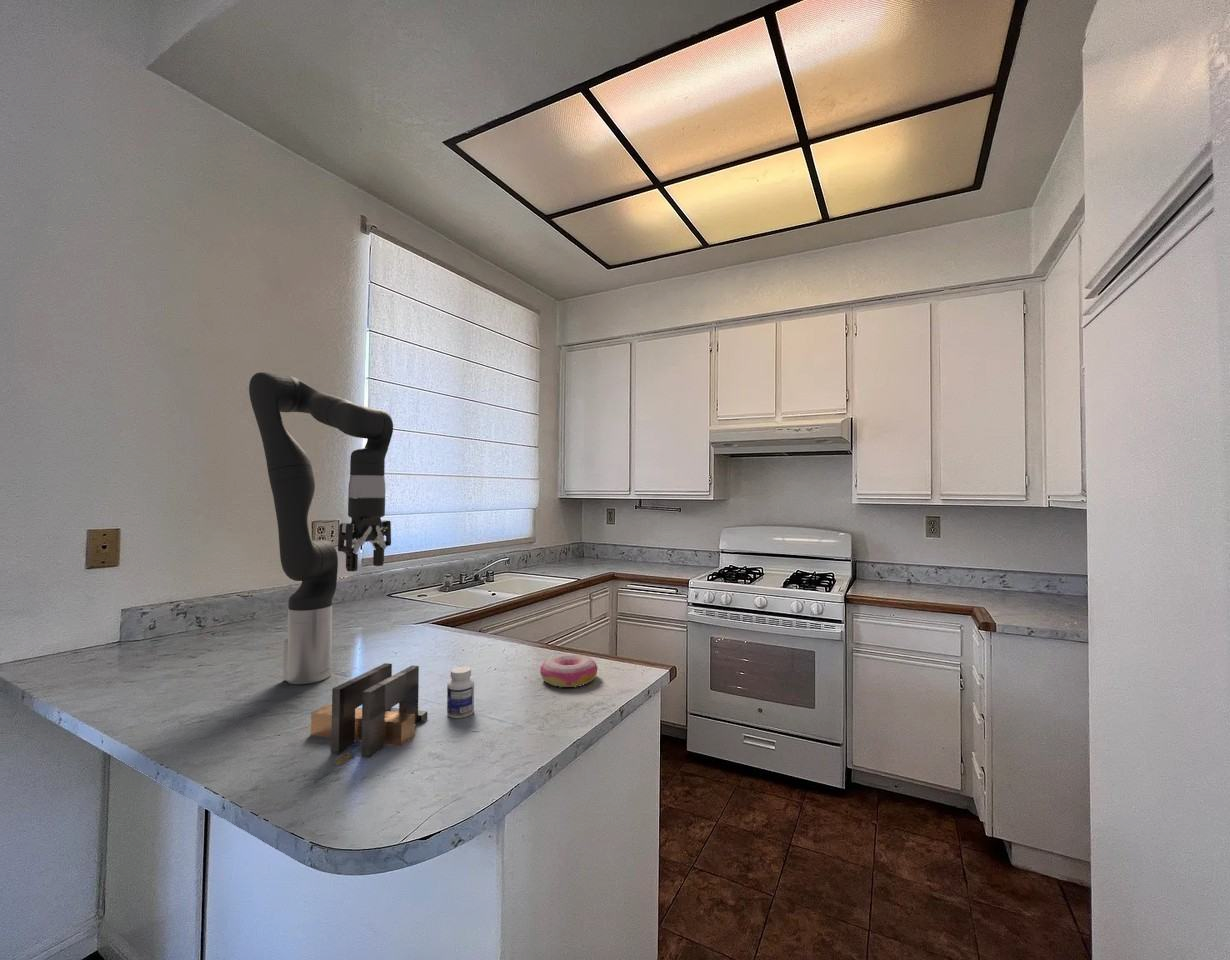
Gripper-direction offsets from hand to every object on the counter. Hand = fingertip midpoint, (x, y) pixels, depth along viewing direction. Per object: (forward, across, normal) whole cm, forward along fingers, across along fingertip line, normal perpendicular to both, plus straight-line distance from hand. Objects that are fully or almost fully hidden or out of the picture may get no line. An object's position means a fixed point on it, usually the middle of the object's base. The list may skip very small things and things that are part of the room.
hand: (365, 568), depth 117 cm
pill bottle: (+28, +4, +26) cm, 39 cm away
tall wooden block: (+28, +17, +14) cm, 35 cm away
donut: (+28, -20, +42) cm, 54 cm away
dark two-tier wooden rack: (+28, +17, +17) cm, 37 cm away
